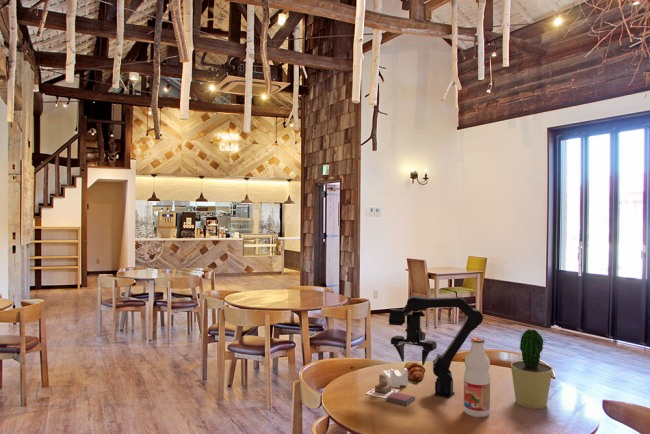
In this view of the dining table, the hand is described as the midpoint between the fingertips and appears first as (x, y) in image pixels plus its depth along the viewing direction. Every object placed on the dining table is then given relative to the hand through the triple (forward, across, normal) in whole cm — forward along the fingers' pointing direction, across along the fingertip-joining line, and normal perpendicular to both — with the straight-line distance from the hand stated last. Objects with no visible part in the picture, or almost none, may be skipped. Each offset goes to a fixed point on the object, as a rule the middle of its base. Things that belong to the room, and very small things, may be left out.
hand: (413, 363), depth 211 cm
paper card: (+12, +10, +8) cm, 18 cm away
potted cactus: (+12, -44, -15) cm, 48 cm away
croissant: (+12, +8, -21) cm, 25 cm away
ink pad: (+12, 0, +12) cm, 17 cm away
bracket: (+12, +12, -7) cm, 18 cm away
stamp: (+12, +10, +8) cm, 17 cm away
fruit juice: (+12, -29, +7) cm, 32 cm away
